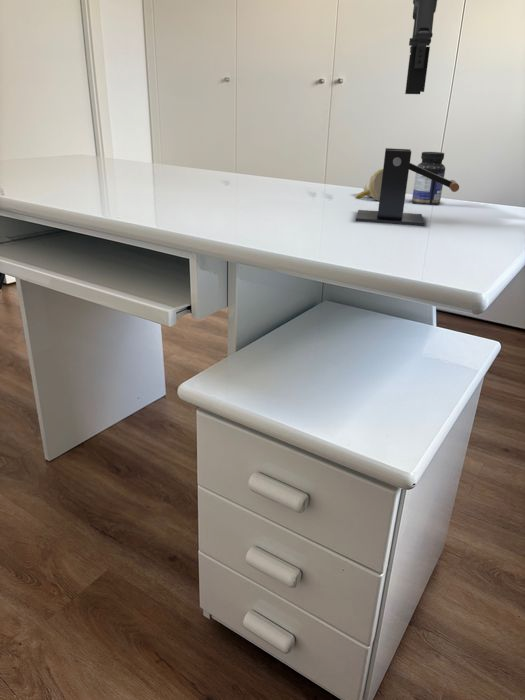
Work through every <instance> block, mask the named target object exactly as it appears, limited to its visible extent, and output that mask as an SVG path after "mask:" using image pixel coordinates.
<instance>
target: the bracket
mask: <svg viewBox="0 0 525 700" xmlns="http://www.w3.org/2000/svg"><path fill="white" fill-rule="evenodd" d="M411 157H412V150H411V148H392V147H390V148H389V147H385V151H384V157H383V158H384V161H383V165H382V166H383V168H382V169H383V175H382V183H381V192H380V200H379V201H378V209H377V210H368V209H358V210H357V213H356V217H355V222H356V223H357V222H359V223H373V224H383V225H384V224H386V225H399V226H415V227H424V226H425V221H424V217H423V214H422V213H413V212H412V213H410V212H404V209H405V208H404V207H405V201H406V194H407V187H408V181H409V180H408V179H409V172H410V170H409V166H410V163H411Z"/></svg>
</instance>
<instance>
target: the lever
mask: <svg viewBox="0 0 525 700" xmlns="http://www.w3.org/2000/svg"><path fill="white" fill-rule="evenodd" d="M409 171H411V172H414V173H415V174H416V173H418V174H420V175H423V176H425V177H427V178H429V179H431V180H434V181H436V182H438V183H440V184H443V186H445V187H447V188H448V189H449V190H450V191H451V192H453V193H456V192H458V191H459V189H460V185H459V184H458V182H457V181H456V180H454V179H450V180H449V179H447V178H446V177H444V178H443V177H441V176H438V175H436V174H434V173H432V172H429V171H427V170H425V169H423V168H421V167H418V165H416V164H414V163H411V162H410V166H409Z"/></svg>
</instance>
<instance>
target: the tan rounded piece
mask: <svg viewBox="0 0 525 700" xmlns="http://www.w3.org/2000/svg"><path fill="white" fill-rule="evenodd" d="M382 175H383V168H381V169H379V170H377V171H375V172H374V173H373V174H372V175H371V176H370V178H369V180H367V181H366V182H365V183H364V185H363V191H361V192H359V193H357V194H355V196H354V197H355V198H356V199H361V198H364V197H369V198H373V199H374V200H376V201H377V202H379V200H380V192H381V183H382Z"/></svg>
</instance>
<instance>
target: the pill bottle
mask: <svg viewBox="0 0 525 700" xmlns="http://www.w3.org/2000/svg"><path fill="white" fill-rule="evenodd" d="M420 155H421V156H420V159H421V162H419V163H418V164H417V166H418V167H421V168H423V169H425V170H427V171H429V172H432V173H434V174H436V175H438V176H441V177H443V178H445V174H446V166H445V165H444V164H443V160H444V159H445V152H441V151H422V152H421V154H420ZM443 186H444V185H443V184H440V183H438V182H436V181H434V180H431V179H429V178H427V177H425V176H423V175H420V174H418V173H416V172H415V176H414V184H413V190H412V198H411V204H412V205H421V206H422V205H423V206H437V207H438V206H440V204H441V200H442V199H441V198H442V192H443Z"/></svg>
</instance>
